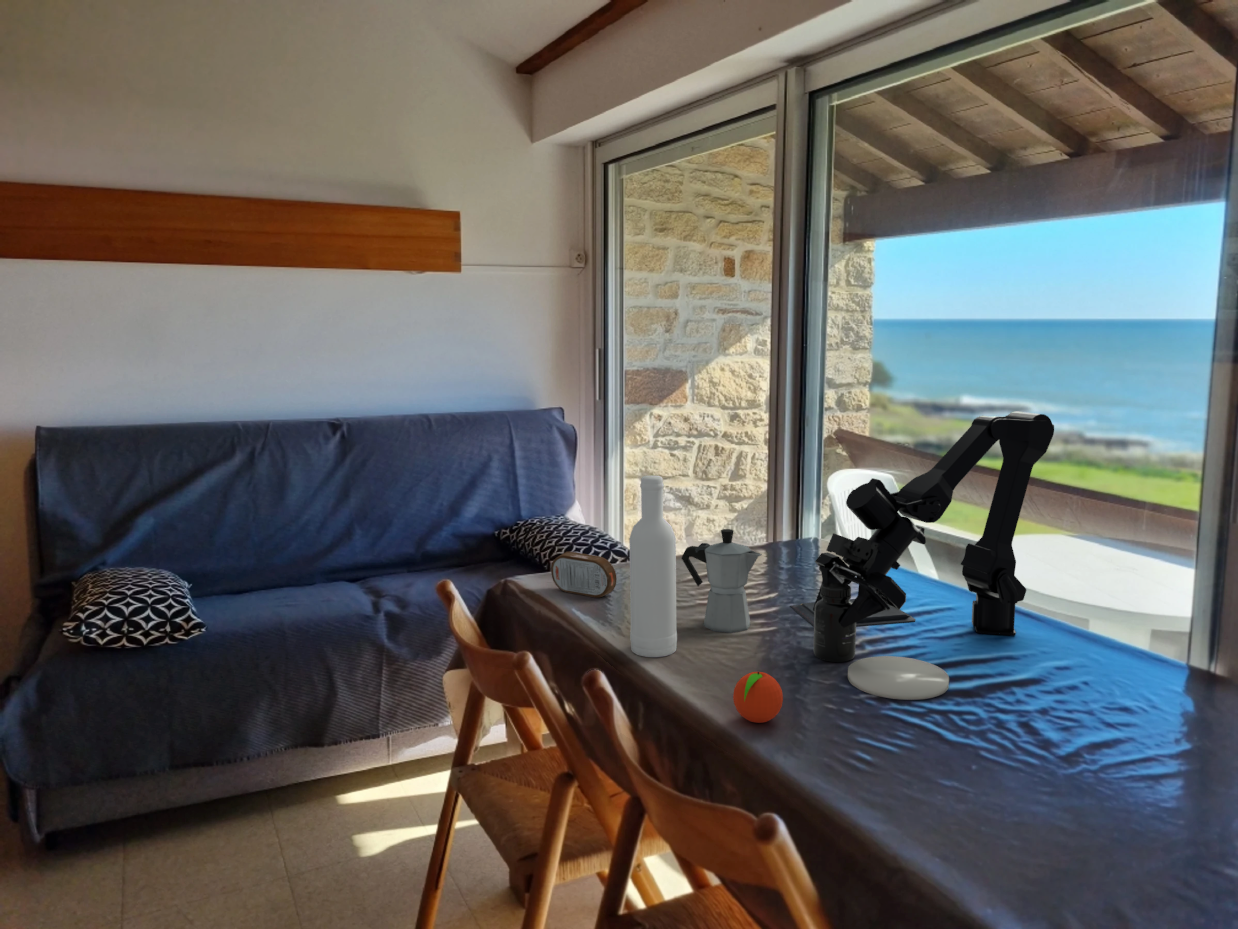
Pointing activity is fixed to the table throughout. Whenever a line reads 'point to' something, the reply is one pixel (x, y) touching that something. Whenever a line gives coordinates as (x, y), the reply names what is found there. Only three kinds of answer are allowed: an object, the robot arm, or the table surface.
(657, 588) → the bottle
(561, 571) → the tin
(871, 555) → the robot arm
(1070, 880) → the table surface
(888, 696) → the saucer
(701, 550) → the coffee maker
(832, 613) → the supplement bottle
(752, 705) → the clementine
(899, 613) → the dark grey flat block
